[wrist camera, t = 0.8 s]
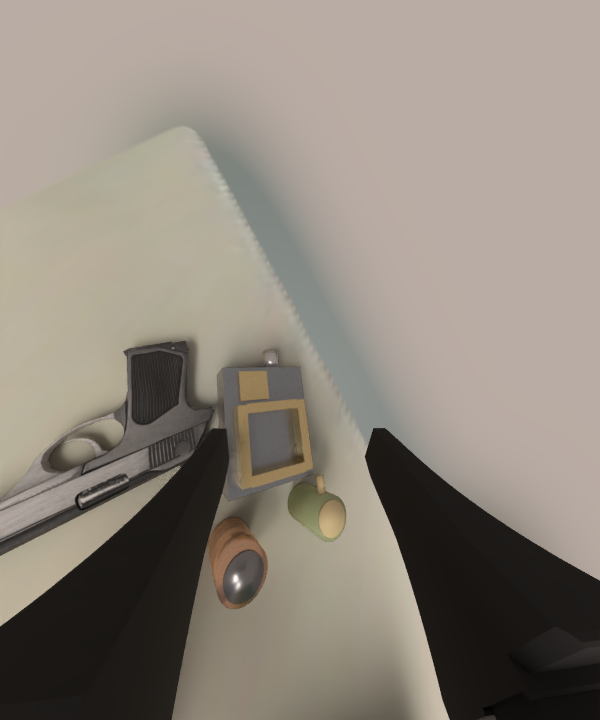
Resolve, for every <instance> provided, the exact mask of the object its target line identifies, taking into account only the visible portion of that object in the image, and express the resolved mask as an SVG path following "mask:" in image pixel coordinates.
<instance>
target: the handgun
mask: <svg viewBox="0 0 600 720" xmlns="http://www.w3.org/2000/svg"><path fill="white" fill-rule="evenodd" d="M123 352H124V354H125V355H126V356H127V388H128V391H127V396H126V400H125V402H124V403H123V404H122V406H121V407H120V408H119V409H117V410H116V411H115V412H114V413H112V414H109V415H107V416H104V417H101V418H98V419H94V420H91V421H88V422H85V423H83V424H81V425H79V426H77V427H75V428H73V429H71V430H70V431H68V432H66V433H65V434H63V435H61V436H60V437H58V438H57V439H56V440H55V441H54V442H53V443H51V444H50V445H49V446H48V447H47V448H45V449H44V451H43V452H42V453H41V454H40V455H39V456H38V457H37V458H36V459H35V461H34V462H33V464H32V465H31V467H30V468H29V470H28V471H27V473H26V474H25V476H24V477H23V478H22V479H21V481H20V482H19V483H18V484H17V485H16V486H15V488H14V489H12V490H11V491H10V492H9V493H8V494H7V495H6V496H5V497H4V498H2V499H1V500H0V556H1V555H3V554H5V553H7V552H9V551H11V550H13V549H15V548H17V547H19V546H21V545H23V544H25V543H27V542H29V541H31V540H33V539H34V538H36V537H38V536H40V535H42V534H44V533H46V532H48V531H50V530H52V529H54V528H56V527H58V526H60V525H62V524H64V523H66V522H68V521H70V520H72V519H74V518H76V517H78V516H80V515H82V514H84V513H86V512H88V511H90V510H92V509H94V508H96V507H98V506H100V505H102V504H104V503H106V502H108V501H110V500H112V499H114V498H116V497H118V496H120V495H122V494H123V493H125V492H127V491H129V490H131V489H133V488H135V487H137V486H139V485H141V484H143V483H145V482H147V481H149V480H151V479H153V478H155V477H157V476H159V475H161V474H163V473H165V472H167V471H169V470H171V469H173V468H175V467H177V466H179V465H180V466H181V467H182V466H183V465H184V463H185V462H186V461H187V460H188V459H189V457H190V456H191V455H192V454H193V452H194V450H195V448H198V446H199V445H200V444H201V443H202V441H203V440H204V439H205V437H206V436H205V428H206V426H207V424H208V422H209V421H210V418H211V416H212V413H213V411H214V410H213V408H212V407H210V408H206V409H197V408H193V407H192V406H191V405H190V404H189V403H188V402H187V401H186V397H187V375H188V354H189V349H188V346H187V343H186V341H182V342H177V343H172V342H167V343H161V344H155V345H148V346H142V347H136V348H130V349H127V350H125V351H123ZM104 419H115V420H117V421H118V422H120V423H121V424H122V426H123V427H124V437H123V439H122V440H121V442H120V443H119V444H118V445H117V446H116V447H115V448H114V449H113V450H111V451H109V450H103V449H102V447H101V446H100V445H99V444H98V443H97V442H96V441H94V440H92V439H90V438H77V439H71V440H69V441H67V442H65V443H68V442H72V441H77V440H80V441H85V442H87V443H89V444H91V445H92V447H93V448H94V450H95V458H94V459H92V460H90V461H88V462H86V463H84V464H82V465H80V466H78V467H76V468H73V469H71V470H69V471H58V470H54V469H52V468H51V467H50V464H49V462H48V459H49V456H50V454H51V452H52V451H53V450H54V449H55V448H56V447H57V446H58V445H59V444H60V443H61V442H63V441H64V440H65V439H66V438H67V437H68V436H70V435H72V434H73V433H75V432H77V431H78V430H80V429H82V428H83V427H86V426H88V425H91V424H93V423H96V422H99V421H101V420H104Z"/></svg>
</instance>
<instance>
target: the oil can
mask: <svg viewBox="0 0 600 720" xmlns="http://www.w3.org/2000/svg"><path fill="white" fill-rule="evenodd" d="M316 482H317V487H315V486H312V485H310V484H308V483H299V484H297V485H296V486H295V487H294V488H293V489H292V491H291V492H290V495H289V498H288V510H289V512H290V514H291V516H292V517H293V518H294V519H296V520H297V521H298V522H300V523H301V524H302V525H303V526H305V527H306V528H307V529H309V530H310V531H311V532H313V533H314V534H315V535H316V536H318V537H319V538H320V539H322V540H323V541H326V542H331V541H334V540H336V539H337V538H338V537H339V536H340V534H341V533H342V531H343V529H344V526H345V522H346V510H345V506H344V503H343V501H342V500H341V499H340V498H339V497H338V496H336V495H334V494H331V493H329V492H326V491H325V483H324V476H323V475H317V476H316Z"/></svg>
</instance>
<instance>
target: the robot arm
mask: <svg viewBox="0 0 600 720" xmlns="http://www.w3.org/2000/svg"><path fill="white" fill-rule="evenodd" d="M365 459H366V463H367V466H368V470H369V473H370V476H371V479H372V481H373V484H374V486H375V489H376V491H377V494H378V496H379V498H380V501H381V503H382V505H383V508H384V510H385V512H386V515H387V517H388V519H389V522H390V524H391V526H392V529H393V531H394V534H395V537H396V539H397V542H398V545H399V548H400V551H401V554H402V557H403V560H404V563H405V566H406V569H407V573H408V576H409V579H410V582H411V585H412V589H413V592H414V595H415V598H416V602H417V605H418V609H419V612H420V616H421V619H422V623H423V626H424V630H425V633H426V637H427V641H428V645H429V648H430V652H431V656H432V660H433V664H434V667H435V671H436V675H437V679H438V683H439V687H440V691H441V695H442V700H443V702H444V705H445V708H446V711H447V713H448V716H449V719H450V720H600V581H599V580H598V579H596V578H594V577H592V576H590V575H589V574H587V573H585V572H583V571H581V570H580V569H578V568H576V567H574V566H572V565H571V564H569V563H567V562H565V561H563V560H562V559H560V558H558V557H557V556H555V555H553V554H551V553H550V552H548V551H547V550H545V549H543V548H542V547H540V546H538V545H537V544H535V543H533V542H532V541H530V540H528V539H527V538H525V537H524V536H522V535H520V534H519V533H517V532H516V531H514V530H513V529H511V528H510V527H508V526H506V525H505V524H504V523H502V522H501V521H499V520H497V519H496V518H495V517H493V516H492V515H490V514H488V513H487V512H485V511H484V510H483V509H481V508H480V507H479V506H477V505H476V504H474V503H473V502H472V501H470V500H469V499H468V498H466V497H465V496H464V495H462V494H461V493H460V492H458V491H457V490H456V489H454V488H453V487H452V486H450V485H449V484H448V483H447V482H446V481H444V480H443V479H442V478H441V477H440V476H438V475H437V474H436V473H435V472H433V471H432V470H431V469H430V468H429V467H428V466H426V465H425V464H424V463H423V462H422V461H421V460H419V459H418V458H417V457H416V456H415V455H414V454H413V453H412V452H411V451H410V450H408V449H407V448H406V447H405V446H404V445H403V444H402V443H401V442H400V441H399V440H398V439H396V438H395V437H394V436H393V435H392V434H391V433H390V432H389V431H388V430H386V429H385V428H374V429H373V432H372V435H371V438H370V442H369V445H368V448H367V451H366V455H365ZM228 465H229V448H228V438H227V428H213V429H212V430H211V431H210V432H209V434H208V435H207V436H206V437H205V439H204V440H203V441H202V443H201V444H200V445H199V446H198V448H197V449H196V450H195V451H194V453H193V454H192V455H191V456H190V457H189V459H188V460H187V461H186V462H185V463H184V465H183V466H182V467H181V468H180V469H179V470H178V472H177V473H176V474H175V475H174V476H173V477H172V478H171V479H170V480H169V481H168V482H167V483H166V485H165V486H164V487H163V488H162V489H161V490H160V491H159V492H158V493H157V494H156V495H155V496H154V497H153V498H152V499H151V500H150V501H149V502H148V503H147V504H146V505H145V506H144V507H143V508H142V509H141V510H140V511H139V512H138V513H137V514H136V515H135V516H134V517H133V518H132V519H131V520H130V521H128V522H127V523H126V524H125V525H124V526H123V527H122V528H121V529H120V530H119V531H117V532H116V533H115V534H114V535H113V536H112V537H111V538H110V539H109V540H107V541H106V542H105V543H104V544H103V545H102V546H101V547H99V548H98V549H97V550H96V551H95V552H94V553H92V554H91V555H90V556H89V557H88V558H86V559H85V560H84V561H83V562H82V563H80V564H79V565H78V566H77V567H75V568H74V569H73V570H72V571H71V572H69V573H68V574H67V575H66V576H65V577H63V578H62V579H61V580H60V581H58V582H57V583H56V584H55V585H54V586H52V587H51V588H50V589H49V590H47V591H46V592H45V593H44V594H42V595H41V596H40V597H38V598H37V599H36V600H35V601H33V602H32V603H31V604H29V605H28V606H27V607H25V608H24V609H23V610H21V611H20V612H19V613H18V614H16V615H15V616H14V617H12V618H11V619H10V620H8V621H7V622H6V623H4V624H3V625H2V626H0V720H171V719H172V713H173V708H174V702H175V697H176V692H177V686H178V681H179V675H180V670H181V665H182V659H183V654H184V649H185V644H186V639H187V634H188V629H189V624H190V619H191V614H192V609H193V604H194V600H195V595H196V590H197V585H198V580H199V576H200V571H201V567H202V562H203V558H204V553H205V549H206V545H207V542H208V538H209V535H210V531H211V528H212V525H213V521H214V518H215V515H216V511H217V508H218V505H219V501H220V498H221V494H222V491H223V488H224V484H225V480H226V475H227V470H228Z"/></svg>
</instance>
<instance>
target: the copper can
mask: <svg viewBox="0 0 600 720" xmlns="http://www.w3.org/2000/svg"><path fill="white" fill-rule="evenodd" d="M207 552H208V557H209V561H210V565H211V569H212V574H213V578H214V582H215V586H216V590H217V594H218V597H219V600H220V602H221V603H222V604H223V605H224V606H225V607H227V608H229V609H239V608H242V607H244V606H246V605H247V604H249V603H250V602H251V601H252V600H253V599H254V598H255V597H256V596H257V594H258V593H259V591H260V590H261V588H262V586H263V584H264V581H265V578H266V574H267V566H268V565H267V557H266V554H265V552H264V550H263V549H262V547H261V546H260V544H259V543H258V542H257V540H256V539H255V537H254V536H253V534H252V533H251V532H250V530H249V529H248V527H247V526H246V525H245V523H244V522H243V521H242V520H240V519H238V518H229V519H226V520H224V521H222V522H221V523H220V524H219V525H217V527H216V528H215V529H214V530H213V532H212V534H211V536H210V538H209V541H208V546H207Z"/></svg>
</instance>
